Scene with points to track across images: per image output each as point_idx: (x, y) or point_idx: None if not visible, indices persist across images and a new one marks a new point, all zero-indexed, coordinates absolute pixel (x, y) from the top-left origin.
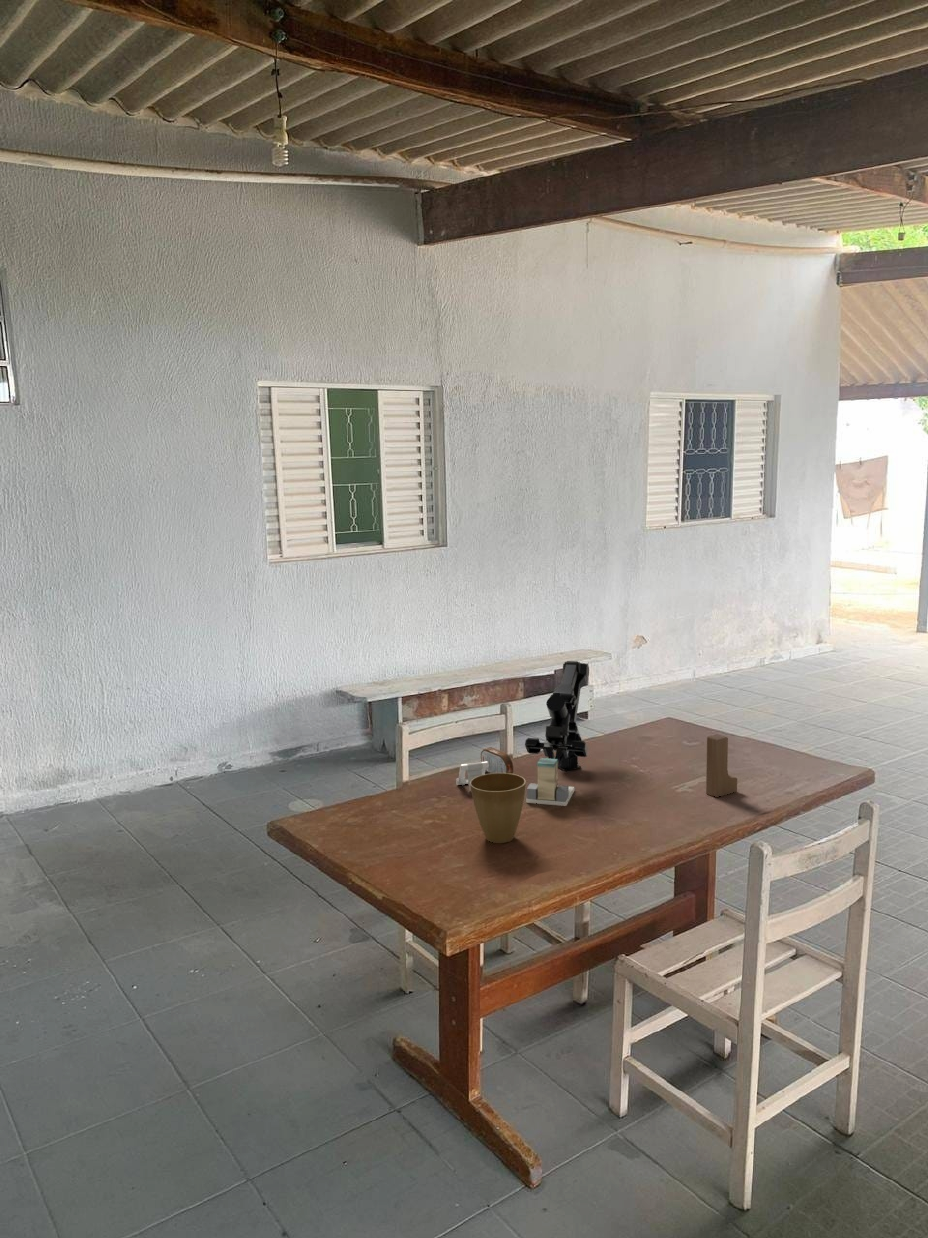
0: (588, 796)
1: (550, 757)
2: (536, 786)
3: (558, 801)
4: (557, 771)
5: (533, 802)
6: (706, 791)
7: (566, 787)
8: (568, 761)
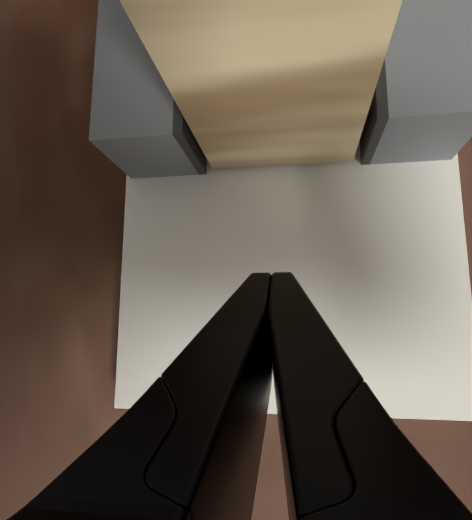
0: (20, 301)
1: (348, 441)
2: (394, 32)
3: None
4: (132, 22)
5: None
6: None
7: (101, 95)
8: None
